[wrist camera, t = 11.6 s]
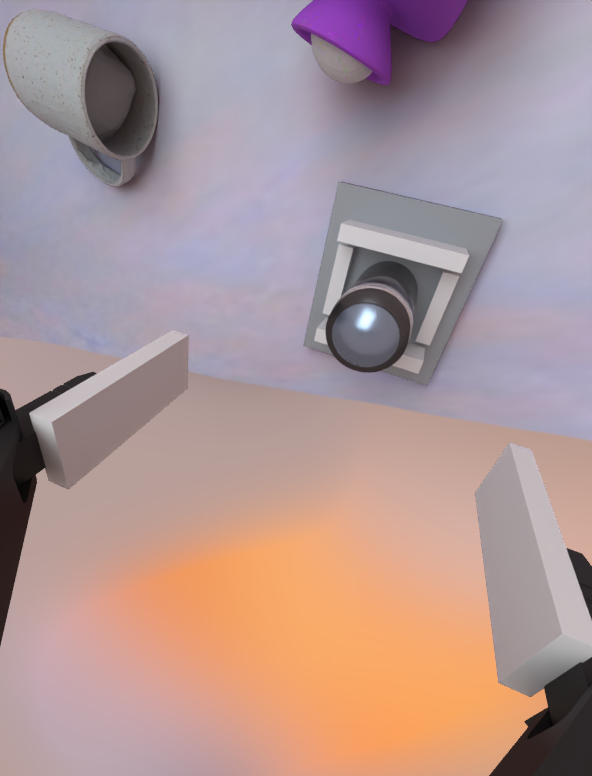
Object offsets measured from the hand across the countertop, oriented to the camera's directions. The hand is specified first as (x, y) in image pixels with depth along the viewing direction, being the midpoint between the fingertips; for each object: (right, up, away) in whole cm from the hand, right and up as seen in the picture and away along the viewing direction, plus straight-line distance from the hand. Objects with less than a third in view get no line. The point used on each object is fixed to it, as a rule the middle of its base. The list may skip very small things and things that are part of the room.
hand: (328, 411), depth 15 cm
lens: (+6, +9, +15) cm, 19 cm away
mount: (+7, +9, +16) cm, 20 cm away
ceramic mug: (-16, +25, +17) cm, 34 cm away
